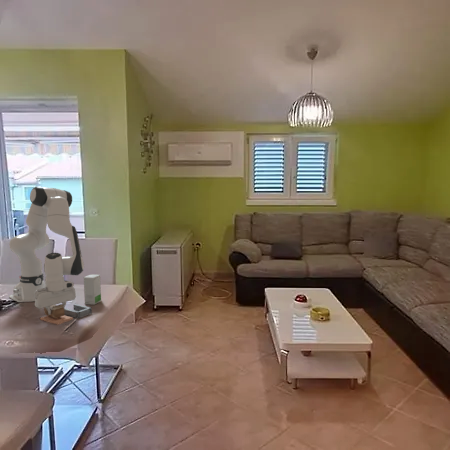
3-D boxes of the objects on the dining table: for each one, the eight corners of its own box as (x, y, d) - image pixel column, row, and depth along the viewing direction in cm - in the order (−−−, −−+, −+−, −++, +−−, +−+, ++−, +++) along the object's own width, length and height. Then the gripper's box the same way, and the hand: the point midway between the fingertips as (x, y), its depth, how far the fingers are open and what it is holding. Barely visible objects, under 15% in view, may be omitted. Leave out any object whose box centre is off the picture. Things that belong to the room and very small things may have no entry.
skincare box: (94, 305, 233) (93, 277, 231) (83, 304, 234) (82, 277, 232) (101, 300, 241) (100, 274, 239) (91, 299, 242) (90, 273, 240)
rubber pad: (40, 319, 210) (39, 318, 210) (55, 314, 218) (55, 312, 217) (57, 324, 203) (57, 323, 203) (73, 319, 210) (73, 317, 210)
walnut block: (44, 314, 212) (43, 304, 211) (53, 311, 216) (52, 301, 215) (55, 318, 206) (54, 307, 205) (64, 315, 210) (63, 304, 209)
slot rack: (61, 314, 218) (61, 308, 218) (75, 309, 226) (75, 303, 225) (77, 318, 212) (77, 312, 211) (91, 313, 219) (91, 307, 219)
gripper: (37, 291, 198) (39, 319, 200) (76, 282, 214) (77, 308, 216) (31, 289, 202) (33, 316, 204) (70, 280, 218) (71, 306, 219)
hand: (56, 312), depth 210 cm, fingers closed on walnut block, 5 cm apart
